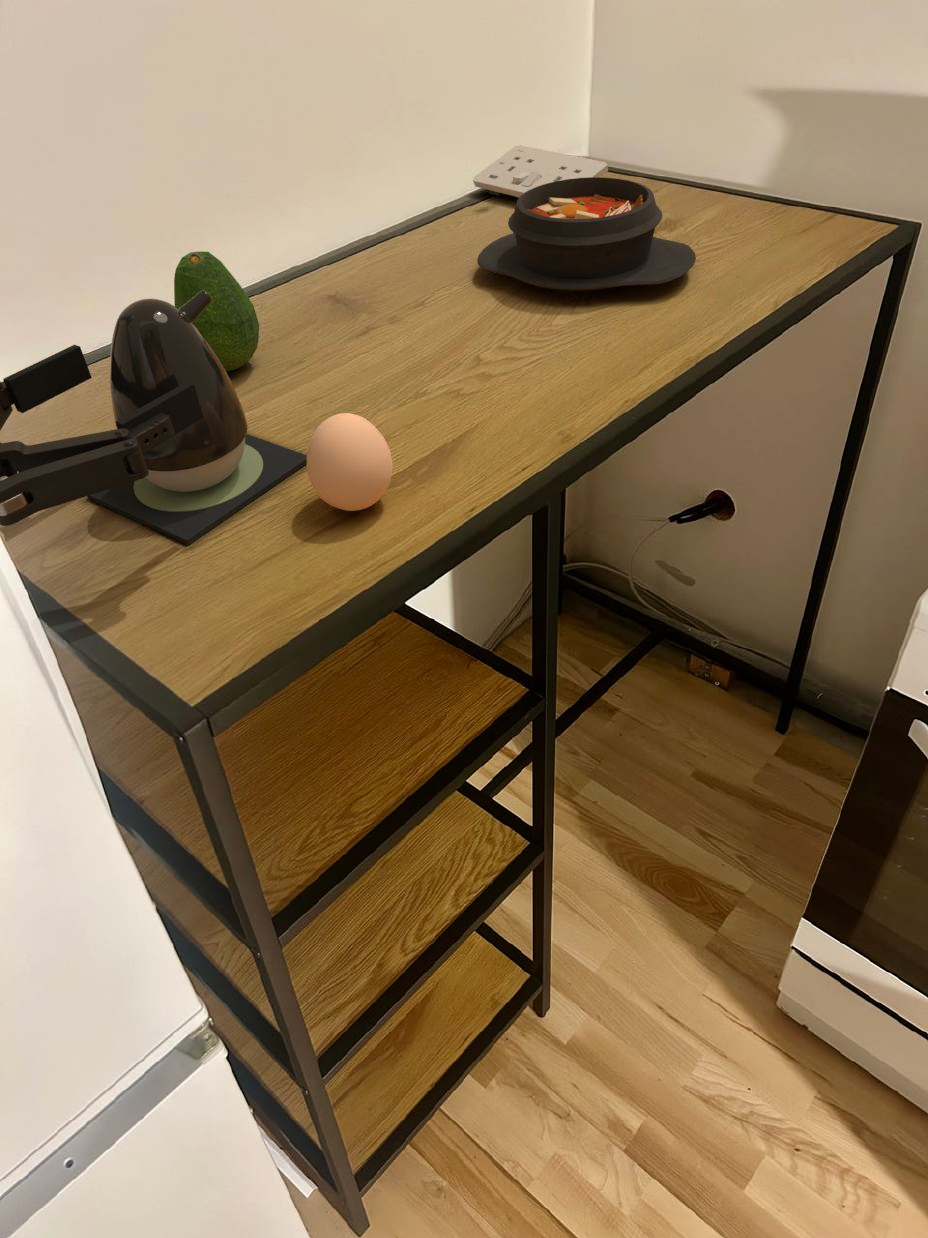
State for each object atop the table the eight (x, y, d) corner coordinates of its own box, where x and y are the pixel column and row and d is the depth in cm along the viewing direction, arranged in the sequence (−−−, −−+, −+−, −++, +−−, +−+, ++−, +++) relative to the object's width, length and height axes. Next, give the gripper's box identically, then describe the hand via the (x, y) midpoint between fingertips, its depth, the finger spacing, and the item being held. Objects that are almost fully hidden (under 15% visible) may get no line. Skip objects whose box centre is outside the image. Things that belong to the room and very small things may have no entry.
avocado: (176, 376, 95) (139, 259, 87) (232, 346, 99) (203, 231, 91) (228, 394, 91) (195, 273, 83) (285, 361, 95) (258, 243, 87)
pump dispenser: (282, 470, 78) (239, 294, 68) (173, 524, 73) (109, 343, 63) (221, 430, 84) (173, 263, 74) (117, 477, 79) (51, 306, 69)
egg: (389, 529, 71) (375, 439, 66) (307, 528, 72) (286, 440, 67) (404, 481, 76) (392, 395, 71) (326, 481, 77) (309, 395, 72)
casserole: (710, 251, 108) (718, 175, 103) (671, 316, 96) (677, 234, 90) (512, 237, 117) (509, 166, 111) (452, 295, 104) (446, 219, 99)
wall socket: (622, 179, 127) (619, 149, 124) (564, 231, 120) (560, 201, 117) (512, 172, 136) (507, 144, 134) (453, 220, 129) (447, 191, 127)
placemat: (88, 498, 78) (85, 492, 78) (211, 424, 86) (209, 419, 86) (188, 545, 72) (186, 539, 72) (311, 461, 80) (309, 455, 80)
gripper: (-187, 512, 67) (58, 388, 79) (7, 632, 55) (261, 463, 67) (-248, 420, 62) (24, 303, 74) (-49, 530, 50) (236, 368, 62)
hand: (137, 379), depth 71 cm, fingers open, 13 cm apart
